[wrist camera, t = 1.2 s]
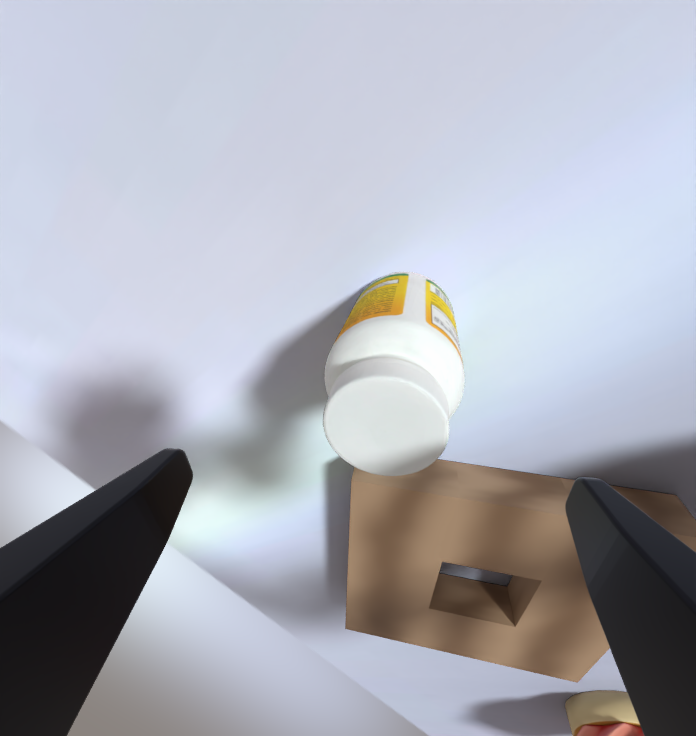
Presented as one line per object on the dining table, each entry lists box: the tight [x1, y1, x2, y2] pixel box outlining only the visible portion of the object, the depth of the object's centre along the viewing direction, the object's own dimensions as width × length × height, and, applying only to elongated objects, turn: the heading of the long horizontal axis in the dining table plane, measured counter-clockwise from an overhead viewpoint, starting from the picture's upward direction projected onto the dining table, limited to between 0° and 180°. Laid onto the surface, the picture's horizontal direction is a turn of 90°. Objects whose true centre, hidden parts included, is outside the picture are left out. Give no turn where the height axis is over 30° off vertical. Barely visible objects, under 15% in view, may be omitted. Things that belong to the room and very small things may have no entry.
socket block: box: [345, 459, 696, 682], centre depth 26 cm, size 20×20×3 cm
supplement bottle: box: [323, 272, 465, 476], centre depth 15 cm, size 5×5×10 cm
